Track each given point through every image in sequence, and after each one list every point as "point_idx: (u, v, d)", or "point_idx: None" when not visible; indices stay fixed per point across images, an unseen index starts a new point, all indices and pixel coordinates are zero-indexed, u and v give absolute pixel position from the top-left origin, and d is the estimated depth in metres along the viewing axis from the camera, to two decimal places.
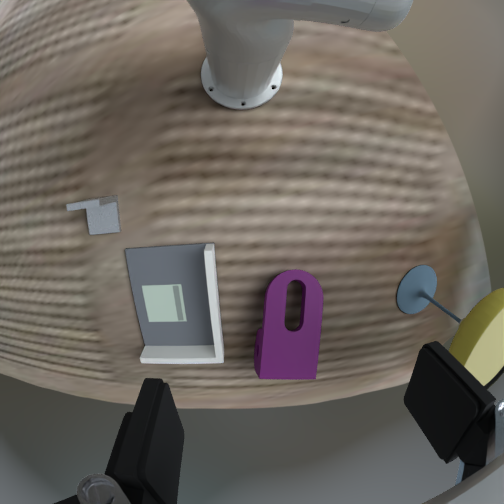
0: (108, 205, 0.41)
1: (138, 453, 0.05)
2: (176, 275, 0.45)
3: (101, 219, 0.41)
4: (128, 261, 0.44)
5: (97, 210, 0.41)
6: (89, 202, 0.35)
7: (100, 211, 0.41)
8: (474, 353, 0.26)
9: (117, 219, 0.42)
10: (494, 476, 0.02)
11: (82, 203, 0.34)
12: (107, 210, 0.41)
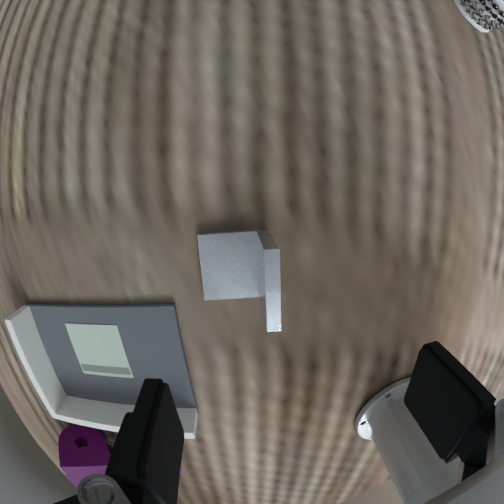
0: (253, 281, 0.25)
1: (138, 453, 0.05)
2: (144, 373, 0.27)
3: (227, 265, 0.24)
4: (153, 308, 0.25)
5: (244, 258, 0.24)
6: (277, 310, 0.19)
7: (243, 265, 0.24)
8: None
9: (227, 297, 0.25)
10: (494, 476, 0.02)
11: (277, 293, 0.19)
12: (244, 279, 0.25)
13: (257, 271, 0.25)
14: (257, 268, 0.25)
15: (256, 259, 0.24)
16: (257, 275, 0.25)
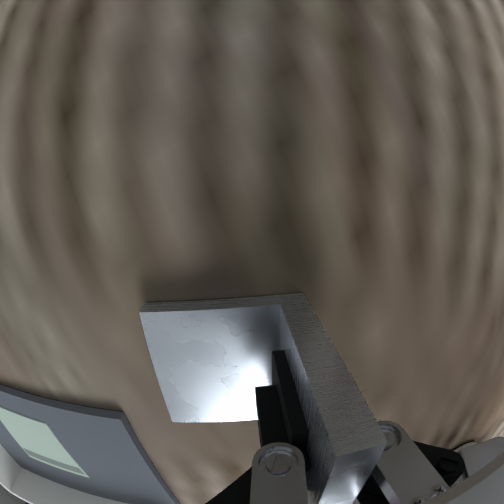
0: None
1: None
2: (102, 477, 0.13)
3: (213, 372, 0.10)
4: (89, 417, 0.11)
5: (251, 359, 0.10)
6: None
7: (248, 371, 0.10)
8: None
9: (215, 419, 0.11)
10: (494, 476, 0.02)
11: (344, 503, 0.04)
12: (250, 394, 0.11)
13: None
14: None
15: None
16: None
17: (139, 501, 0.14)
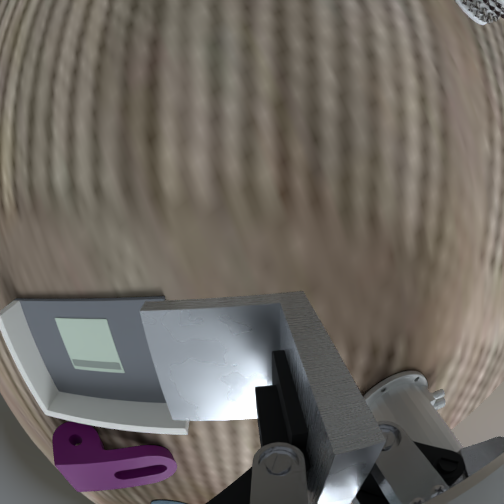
0: None
1: None
2: (135, 368, 0.27)
3: (213, 371, 0.10)
4: (142, 301, 0.24)
5: (251, 357, 0.10)
6: None
7: (249, 370, 0.10)
8: None
9: (216, 418, 0.11)
10: (494, 476, 0.02)
11: (343, 501, 0.05)
12: (250, 392, 0.11)
13: None
14: None
15: None
16: None
17: (158, 395, 0.28)
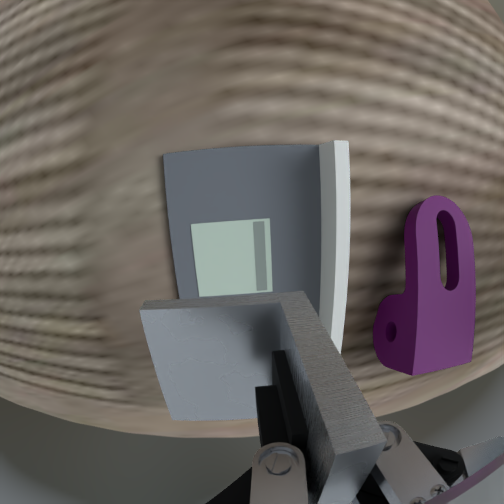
0: None
1: None
2: (261, 201, 0.25)
3: (213, 370, 0.10)
4: (167, 176, 0.23)
5: (251, 357, 0.10)
6: None
7: (249, 369, 0.10)
8: None
9: (215, 417, 0.11)
10: (494, 476, 0.02)
11: (344, 502, 0.05)
12: (250, 392, 0.11)
13: None
14: None
15: None
16: None
17: (306, 181, 0.24)
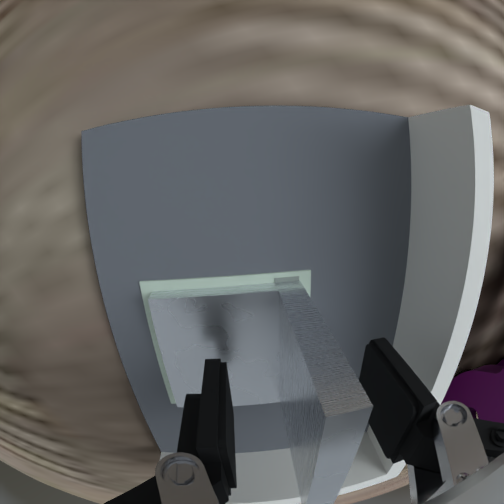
0: (269, 381, 0.12)
1: (217, 426, 0.06)
2: (294, 233, 0.11)
3: (216, 356, 0.11)
4: (87, 179, 0.10)
5: (251, 343, 0.11)
6: (332, 492, 0.06)
7: (250, 355, 0.11)
8: None
9: None
10: (494, 476, 0.02)
11: (339, 476, 0.05)
12: (251, 378, 0.12)
13: (277, 365, 0.11)
14: (278, 360, 0.11)
15: (276, 345, 0.11)
16: (277, 371, 0.12)
17: (387, 191, 0.11)
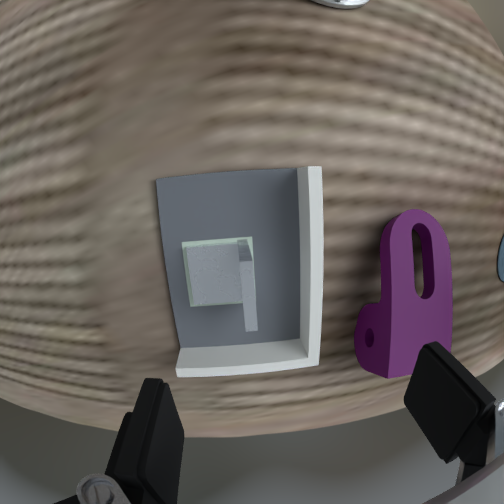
0: (236, 287, 0.28)
1: (138, 453, 0.05)
2: (244, 221, 0.27)
3: (213, 273, 0.28)
4: (159, 199, 0.26)
5: (228, 267, 0.27)
6: (253, 312, 0.22)
7: (227, 273, 0.28)
8: None
9: (213, 302, 0.28)
10: (494, 476, 0.02)
11: (252, 298, 0.22)
12: (228, 285, 0.28)
13: (239, 278, 0.28)
14: (239, 276, 0.28)
15: (238, 268, 0.28)
16: (239, 282, 0.28)
17: (285, 202, 0.27)
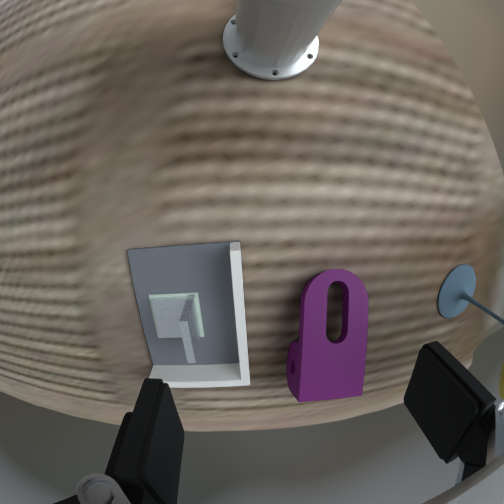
0: None
1: (138, 453, 0.05)
2: (191, 282, 0.37)
3: (171, 318, 0.37)
4: (131, 264, 0.35)
5: (181, 314, 0.37)
6: (191, 352, 0.31)
7: None
8: None
9: (173, 336, 0.38)
10: (494, 476, 0.02)
11: (189, 343, 0.31)
12: None
13: None
14: None
15: None
16: None
17: (221, 268, 0.36)
